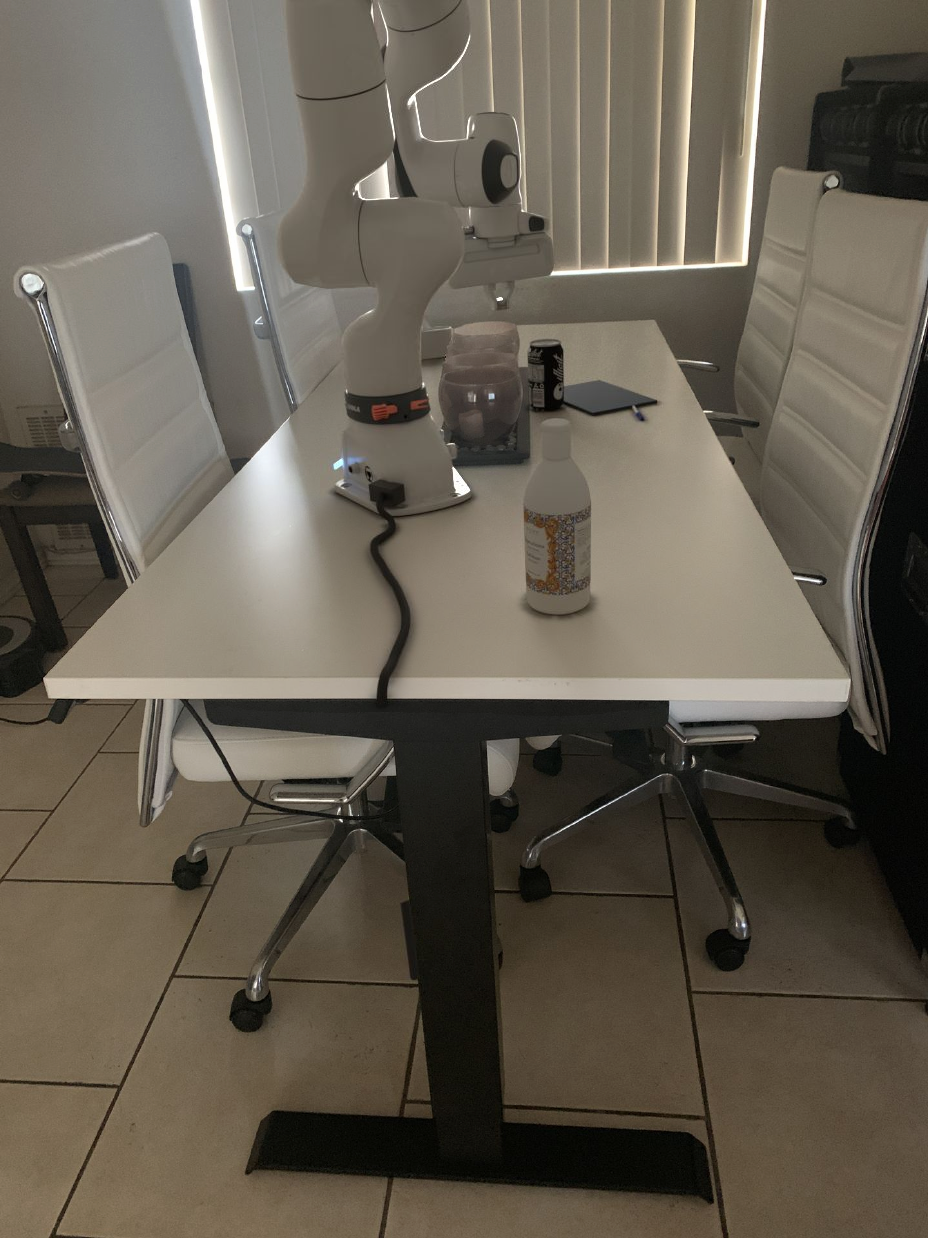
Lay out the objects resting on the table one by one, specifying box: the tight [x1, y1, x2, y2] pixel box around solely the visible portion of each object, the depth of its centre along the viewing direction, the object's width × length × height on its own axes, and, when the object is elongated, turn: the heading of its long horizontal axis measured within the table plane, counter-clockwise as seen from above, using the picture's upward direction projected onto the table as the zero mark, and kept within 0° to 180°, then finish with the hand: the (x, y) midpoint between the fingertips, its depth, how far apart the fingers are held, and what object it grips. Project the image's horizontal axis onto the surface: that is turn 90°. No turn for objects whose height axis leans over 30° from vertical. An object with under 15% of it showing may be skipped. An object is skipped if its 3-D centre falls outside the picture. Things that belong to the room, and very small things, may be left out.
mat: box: [563, 379, 658, 416], centre depth 170 cm, size 20×14×1 cm
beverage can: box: [526, 338, 565, 412], centre depth 164 cm, size 7×7×12 cm
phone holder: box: [421, 315, 453, 361], centre depth 214 cm, size 17×10×18 cm, turn 15°
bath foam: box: [522, 418, 592, 616], centre depth 92 cm, size 7×7×20 cm
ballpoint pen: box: [631, 405, 645, 422], centre depth 160 cm, size 10×1×1 cm, turn 3°
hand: (499, 309), depth 155 cm, fingers closed
